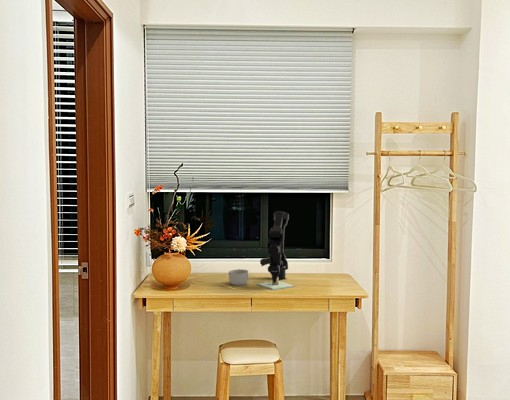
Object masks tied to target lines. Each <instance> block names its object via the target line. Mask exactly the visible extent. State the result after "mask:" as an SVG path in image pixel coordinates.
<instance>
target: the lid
mask: <svg viewBox="0 0 510 400" xmlns="http://www.w3.org/2000/svg"><path fill="white" fill-rule="evenodd" d="M257 284H258V285H260V286H259V287H261V286H263V287H262V288H264V287H266V288H265V289H267V288H269V289H268V290H270V289H272V290H271V291H275V290H274V289H278V290H281V289H280V288H284V289H288V288H287V287H291V288H294V287H293V286H294V285H293V284H290V283H287V282H283V281H281V280H279V277H277V280H276V282H275V283H273V279H272V278H271V281H266V282H260V283H257Z"/></svg>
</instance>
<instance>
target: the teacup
mask: <svg viewBox="0 0 510 400" xmlns="http://www.w3.org/2000/svg"><path fill="white" fill-rule="evenodd" d="M228 279H229V283H230V284H231V285H232V286H236V287H238V286H239V287H240V286H241V287H243V286H246V284H247V283H248V281H249V270H248V269H241V268H238V269H232V270H229V271H228Z"/></svg>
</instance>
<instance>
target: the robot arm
mask: <svg viewBox="0 0 510 400" xmlns="http://www.w3.org/2000/svg"><path fill="white" fill-rule="evenodd" d="M289 220H290V214H289V213H287V212H285V211H275V212H273V221H274V223H273V227H271V228H270V230H269V232H268V238H267V244H270V246H268V250H267V252H268V254H269V257H266V258H265V257H264V258H261V259H260V260H259V262H260V265H261V267H264V266H267V265H268V266H267V272H269V274H271V280H272V279H273V283H275V282H276V280H277V277H279V281H285V280H287V278H286V271H287V270H289V262H288V259H287V256H286V255H285V253H284V247H285V229H286V226H288V221H289Z"/></svg>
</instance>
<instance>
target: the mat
mask: <svg viewBox="0 0 510 400" xmlns="http://www.w3.org/2000/svg"><path fill="white" fill-rule="evenodd" d="M258 284H259V283H257V284H255V286H258V287H260V288H265V289H267V290H270V291H277V290H283V289H285V288H280V289H274V290H272V289H269V288H266V287H263V286H260V285H258ZM296 287H297V286H295V285H293V287H287V288H286V289H289V288H296Z"/></svg>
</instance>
